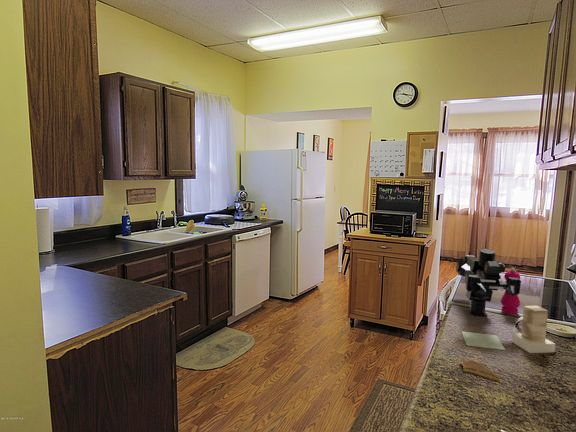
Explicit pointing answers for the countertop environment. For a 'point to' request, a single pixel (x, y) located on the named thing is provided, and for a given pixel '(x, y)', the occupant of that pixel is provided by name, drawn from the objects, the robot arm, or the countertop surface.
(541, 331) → the oak block
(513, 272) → the pepper mill
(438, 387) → the countertop surface
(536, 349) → the stand
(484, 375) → the shard
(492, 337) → the mat
